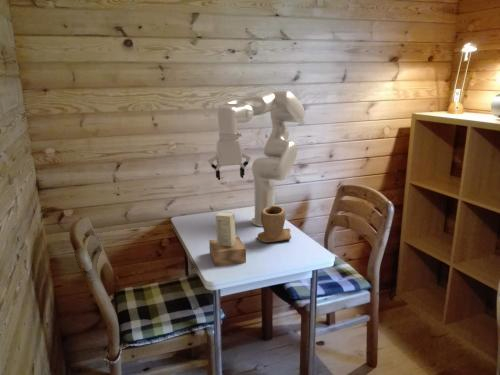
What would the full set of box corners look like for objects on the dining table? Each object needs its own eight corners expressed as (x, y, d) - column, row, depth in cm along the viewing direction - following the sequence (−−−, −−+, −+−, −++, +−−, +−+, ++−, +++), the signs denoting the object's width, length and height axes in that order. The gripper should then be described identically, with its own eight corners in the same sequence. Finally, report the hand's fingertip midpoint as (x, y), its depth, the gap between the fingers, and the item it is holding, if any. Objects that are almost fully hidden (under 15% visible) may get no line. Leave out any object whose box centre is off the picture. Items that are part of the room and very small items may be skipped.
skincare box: (236, 243, 157) (235, 213, 154) (231, 247, 153) (230, 216, 150) (221, 240, 159) (220, 211, 156) (216, 245, 155) (215, 214, 152)
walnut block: (239, 250, 165) (238, 236, 163) (246, 263, 153) (245, 248, 152) (209, 253, 162) (209, 239, 160) (214, 267, 151) (214, 252, 149)
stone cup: (262, 247, 167) (262, 212, 163) (255, 236, 178) (255, 204, 174) (297, 243, 170) (298, 209, 166) (288, 233, 181) (288, 201, 178)
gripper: (247, 134, 168) (248, 174, 173) (205, 137, 164) (208, 177, 170) (251, 137, 161) (252, 178, 166) (208, 140, 157) (210, 182, 162)
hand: (230, 178), depth 168 cm, fingers open, 9 cm apart
